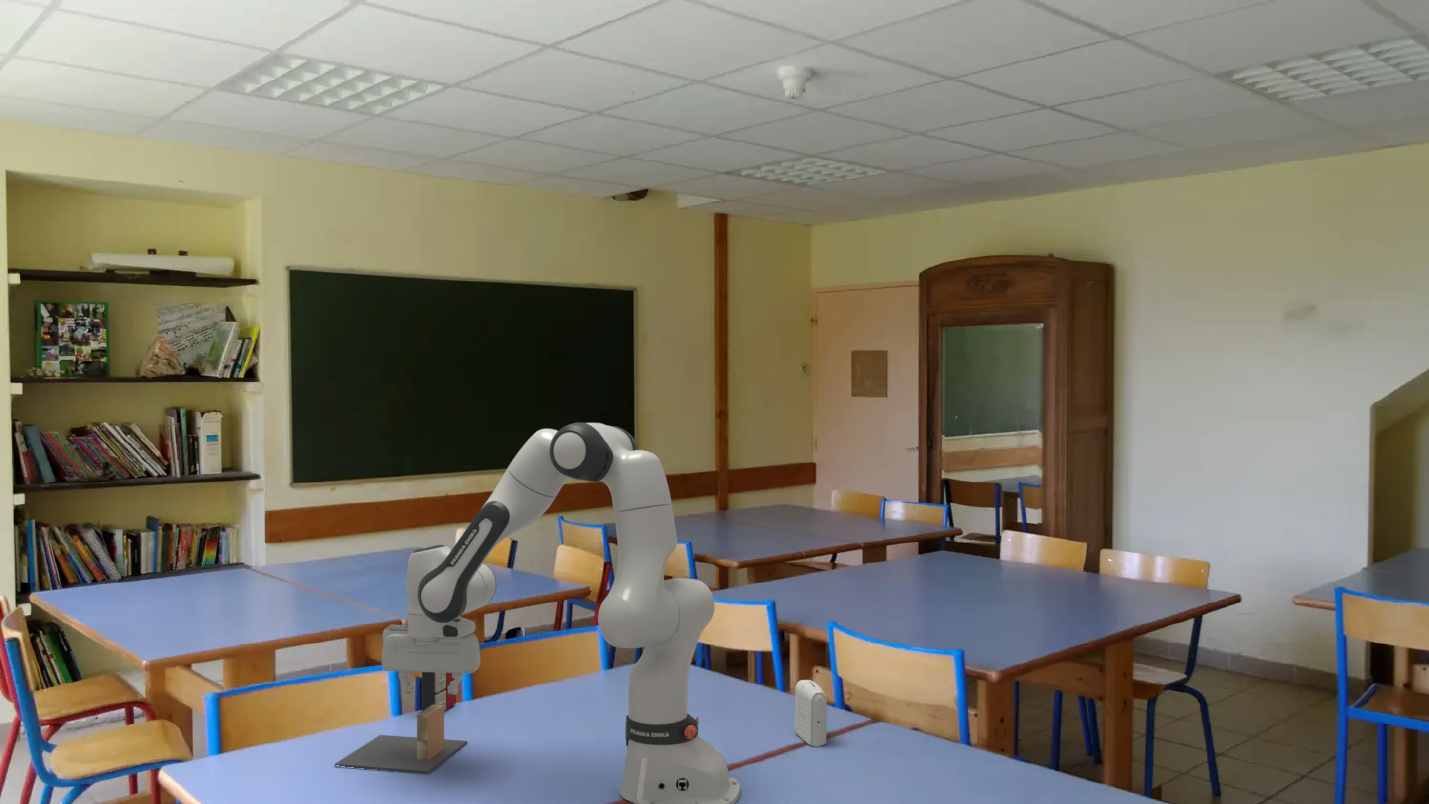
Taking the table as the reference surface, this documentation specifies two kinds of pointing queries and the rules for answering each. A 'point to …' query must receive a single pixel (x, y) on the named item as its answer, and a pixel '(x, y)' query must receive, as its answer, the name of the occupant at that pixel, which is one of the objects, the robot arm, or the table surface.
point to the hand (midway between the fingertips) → (431, 693)
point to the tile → (430, 732)
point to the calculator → (437, 690)
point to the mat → (398, 755)
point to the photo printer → (810, 713)
